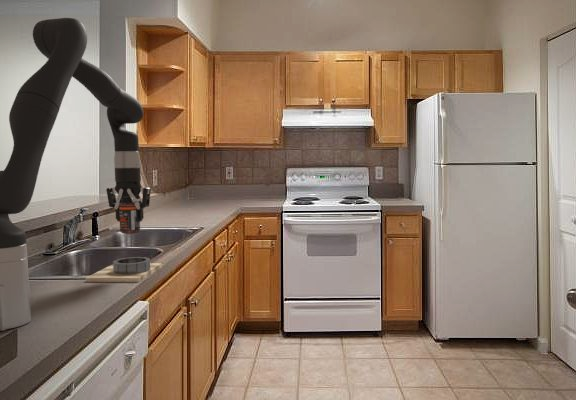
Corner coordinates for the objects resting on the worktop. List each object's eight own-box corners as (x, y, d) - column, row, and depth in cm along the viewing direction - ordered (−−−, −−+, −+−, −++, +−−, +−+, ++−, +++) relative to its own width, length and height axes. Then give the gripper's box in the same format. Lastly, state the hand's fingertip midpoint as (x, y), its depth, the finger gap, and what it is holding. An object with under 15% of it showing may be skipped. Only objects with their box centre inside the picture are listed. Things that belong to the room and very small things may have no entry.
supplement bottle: (115, 233, 153) (114, 196, 152) (130, 230, 158) (128, 195, 157) (130, 234, 150) (128, 197, 149) (144, 231, 155) (143, 195, 154)
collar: (139, 274, 149) (138, 264, 148) (106, 273, 151) (106, 263, 151) (156, 266, 159) (156, 257, 159) (126, 265, 162) (125, 256, 161)
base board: (139, 281, 145) (138, 277, 145) (85, 281, 146) (85, 277, 146) (161, 266, 165) (161, 263, 165) (114, 266, 166) (114, 263, 166)
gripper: (99, 167, 150) (101, 222, 152) (142, 166, 147) (144, 223, 148) (113, 166, 158) (115, 219, 159) (155, 166, 154) (157, 220, 156)
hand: (129, 221), depth 154 cm, fingers closed on supplement bottle, 6 cm apart
